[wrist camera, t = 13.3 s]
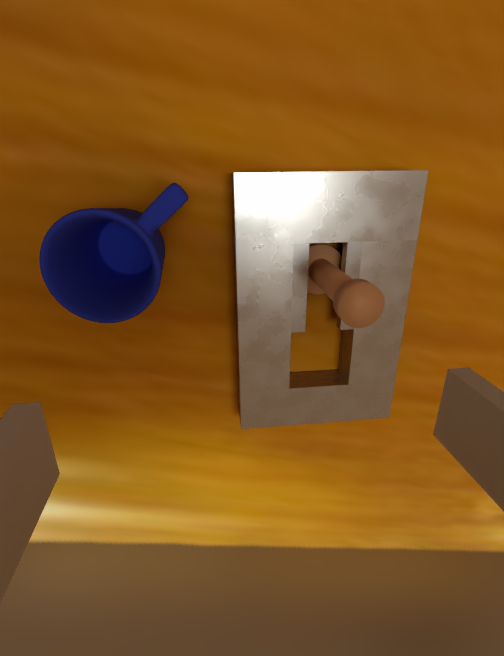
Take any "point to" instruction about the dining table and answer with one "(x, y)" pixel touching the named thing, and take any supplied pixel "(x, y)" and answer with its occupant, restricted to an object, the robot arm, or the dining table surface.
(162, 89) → the dining table surface
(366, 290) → the headed peg
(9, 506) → the robot arm
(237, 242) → the keyhole plate
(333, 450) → the dining table surface
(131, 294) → the mug
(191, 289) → the dining table surface
